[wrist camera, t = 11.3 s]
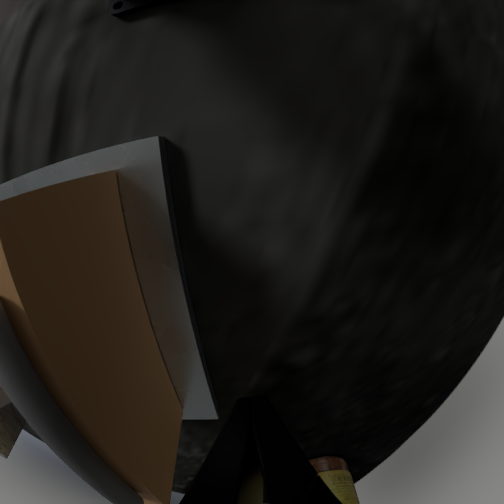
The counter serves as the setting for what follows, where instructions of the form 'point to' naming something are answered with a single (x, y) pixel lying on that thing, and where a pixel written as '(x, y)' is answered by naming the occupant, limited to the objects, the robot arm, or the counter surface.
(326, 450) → the counter surface
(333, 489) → the sauce bottle
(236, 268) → the counter surface
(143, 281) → the vise base
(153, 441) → the block
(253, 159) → the counter surface
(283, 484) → the robot arm
